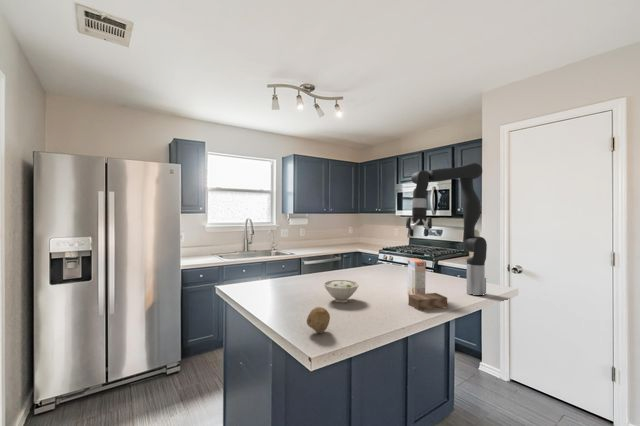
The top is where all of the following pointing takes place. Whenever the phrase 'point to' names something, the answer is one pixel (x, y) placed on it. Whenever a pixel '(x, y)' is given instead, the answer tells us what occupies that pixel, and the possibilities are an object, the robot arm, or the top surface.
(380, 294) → the top surface
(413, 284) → the cracker box
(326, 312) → the brown round lump
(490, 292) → the top surface
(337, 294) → the bowl
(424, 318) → the top surface
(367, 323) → the top surface
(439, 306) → the block
